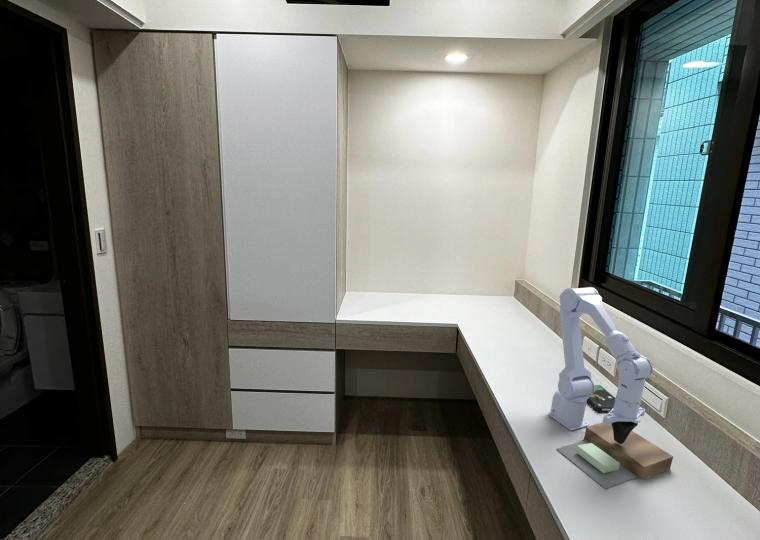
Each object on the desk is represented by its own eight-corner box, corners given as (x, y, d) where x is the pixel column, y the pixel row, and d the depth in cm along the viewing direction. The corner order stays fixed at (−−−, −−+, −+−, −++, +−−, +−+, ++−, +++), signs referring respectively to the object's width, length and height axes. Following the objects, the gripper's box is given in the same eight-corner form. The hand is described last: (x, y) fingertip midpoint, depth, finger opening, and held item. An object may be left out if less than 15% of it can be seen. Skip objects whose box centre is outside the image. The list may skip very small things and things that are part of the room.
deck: (583, 438, 123) (586, 427, 122) (611, 430, 128) (613, 419, 127) (641, 479, 107) (644, 466, 106) (670, 468, 112) (673, 456, 111)
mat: (556, 449, 117) (556, 448, 117) (585, 440, 122) (586, 439, 122) (605, 489, 103) (605, 488, 103) (636, 477, 108) (637, 476, 108)
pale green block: (591, 442, 117) (589, 449, 118) (577, 445, 115) (575, 451, 115) (620, 463, 109) (618, 469, 110) (605, 466, 107) (603, 473, 107)
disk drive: (625, 414, 138) (598, 391, 153) (627, 407, 138) (600, 384, 152) (597, 414, 137) (572, 391, 151) (598, 407, 136) (574, 384, 151)
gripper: (623, 411, 105) (614, 456, 108) (659, 401, 111) (649, 444, 114) (599, 397, 111) (591, 440, 114) (635, 388, 117) (625, 429, 120)
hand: (618, 441), depth 115 cm, fingers closed
